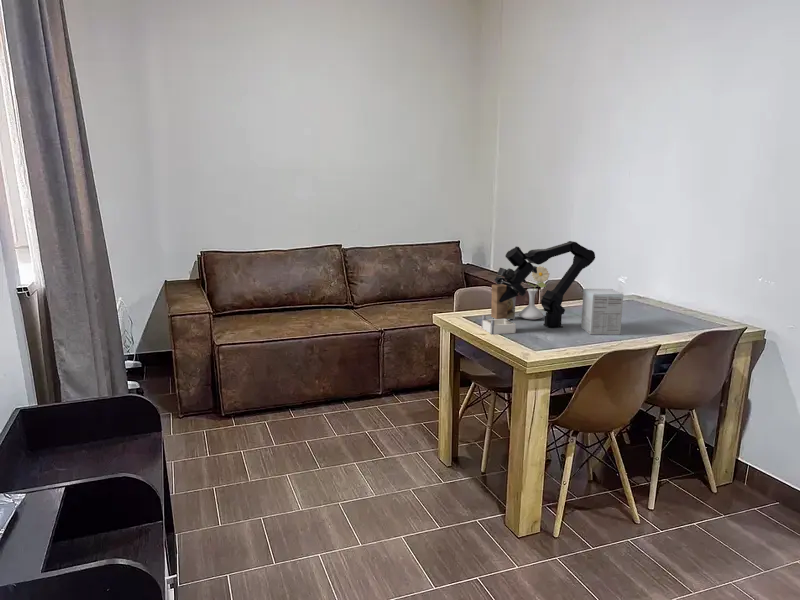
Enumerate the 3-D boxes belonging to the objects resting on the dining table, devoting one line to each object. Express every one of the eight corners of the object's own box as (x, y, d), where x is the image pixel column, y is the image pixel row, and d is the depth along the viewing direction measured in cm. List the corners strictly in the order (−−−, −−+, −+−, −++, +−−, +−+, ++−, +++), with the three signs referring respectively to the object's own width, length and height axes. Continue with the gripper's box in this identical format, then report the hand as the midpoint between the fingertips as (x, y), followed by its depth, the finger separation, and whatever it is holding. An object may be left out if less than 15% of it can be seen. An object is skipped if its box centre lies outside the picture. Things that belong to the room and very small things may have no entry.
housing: (504, 326, 266) (505, 314, 264) (515, 333, 255) (516, 319, 254) (481, 328, 263) (481, 315, 262) (491, 334, 252) (491, 320, 251)
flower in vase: (516, 320, 279) (519, 266, 274) (520, 315, 289) (522, 263, 284) (545, 322, 275) (548, 268, 270) (548, 317, 285) (551, 265, 280)
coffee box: (497, 321, 276) (498, 286, 273) (491, 318, 282) (492, 284, 279) (515, 320, 279) (516, 285, 276) (509, 317, 285) (510, 283, 282)
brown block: (501, 315, 261) (502, 284, 258) (507, 318, 256) (507, 285, 253) (491, 316, 259) (491, 284, 256) (496, 319, 255) (497, 286, 252)
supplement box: (621, 335, 253) (624, 294, 250) (589, 334, 253) (592, 294, 250) (609, 327, 266) (612, 288, 263) (580, 327, 266) (582, 288, 263)
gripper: (499, 258, 263) (475, 284, 262) (520, 263, 245) (495, 292, 244) (514, 275, 267) (491, 301, 266) (536, 281, 249) (511, 309, 248)
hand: (496, 300), depth 256 cm, fingers closed on brown block, 5 cm apart
